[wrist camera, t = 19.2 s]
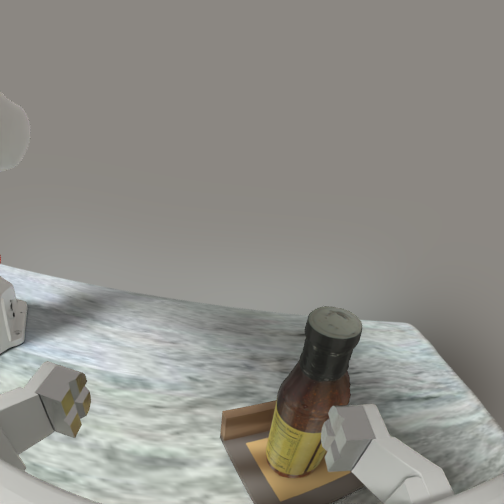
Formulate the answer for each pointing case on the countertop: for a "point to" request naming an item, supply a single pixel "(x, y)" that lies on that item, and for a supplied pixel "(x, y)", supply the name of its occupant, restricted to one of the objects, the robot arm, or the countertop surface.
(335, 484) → the corner arena
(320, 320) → the sauce bottle
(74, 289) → the countertop surface
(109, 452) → the countertop surface
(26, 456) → the countertop surface
